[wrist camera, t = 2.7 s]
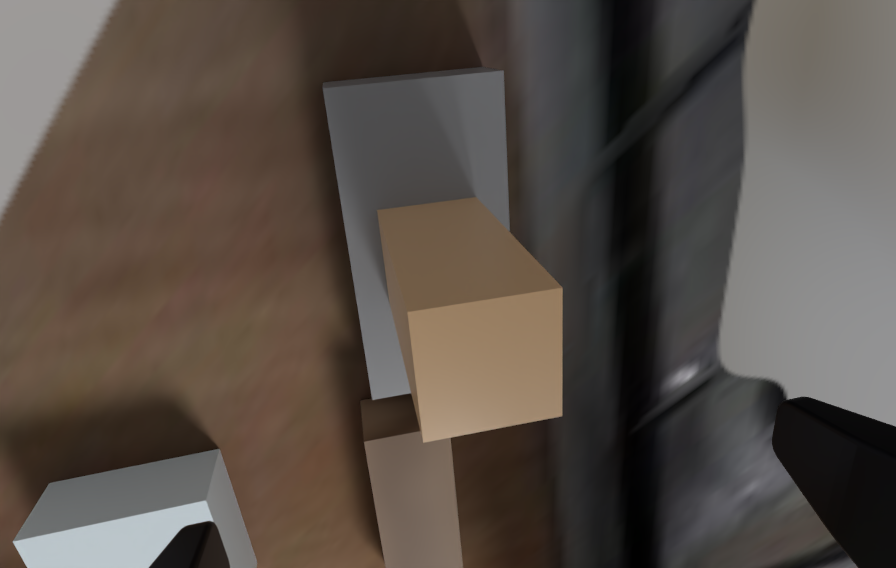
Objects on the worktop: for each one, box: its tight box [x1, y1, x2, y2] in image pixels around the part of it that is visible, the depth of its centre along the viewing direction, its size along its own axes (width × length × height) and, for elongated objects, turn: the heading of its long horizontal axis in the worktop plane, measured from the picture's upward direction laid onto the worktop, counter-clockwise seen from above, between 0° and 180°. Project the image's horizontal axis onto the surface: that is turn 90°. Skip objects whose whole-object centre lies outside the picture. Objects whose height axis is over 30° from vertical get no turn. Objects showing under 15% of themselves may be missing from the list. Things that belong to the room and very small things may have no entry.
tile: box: [13, 449, 257, 568], centre depth 21 cm, size 6×6×3 cm
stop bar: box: [360, 393, 463, 568], centre depth 23 cm, size 3×9×2 cm, turn 5°
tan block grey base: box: [323, 67, 563, 443], centre depth 16 cm, size 5×10×10 cm, turn 5°
